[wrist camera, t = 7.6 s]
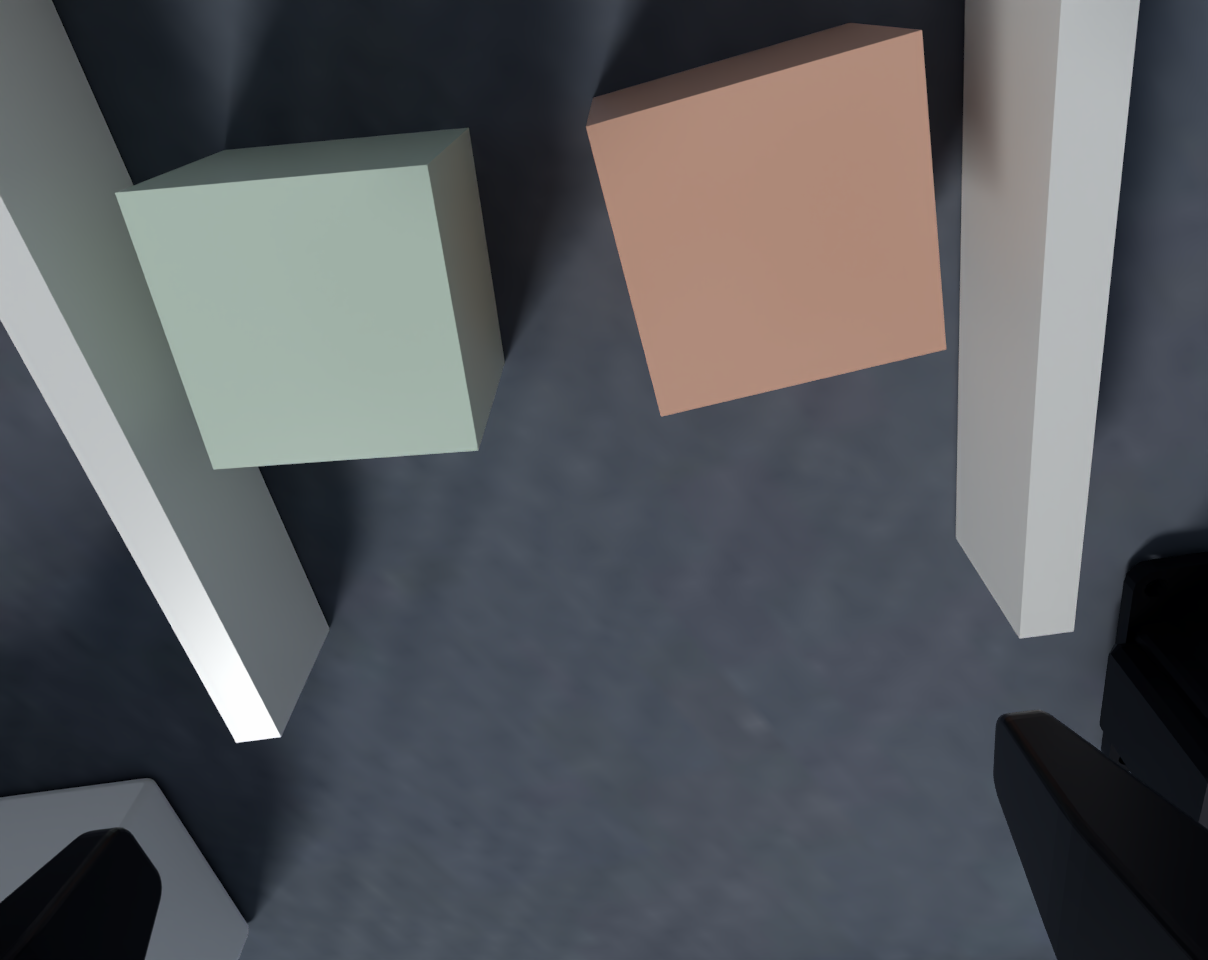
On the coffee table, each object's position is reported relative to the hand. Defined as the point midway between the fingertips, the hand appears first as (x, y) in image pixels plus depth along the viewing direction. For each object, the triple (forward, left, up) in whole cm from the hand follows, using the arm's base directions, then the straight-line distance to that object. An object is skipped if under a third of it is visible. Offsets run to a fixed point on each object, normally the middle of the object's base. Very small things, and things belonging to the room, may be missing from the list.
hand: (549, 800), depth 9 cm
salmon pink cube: (-4, -3, -11) cm, 12 cm away
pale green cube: (+3, -3, -11) cm, 12 cm away
